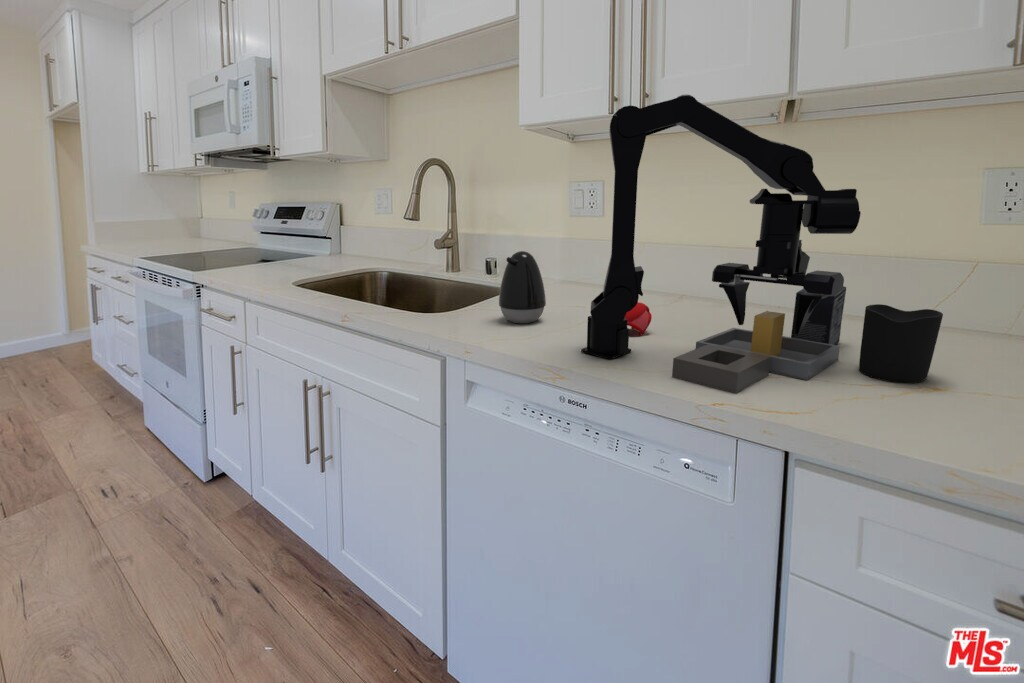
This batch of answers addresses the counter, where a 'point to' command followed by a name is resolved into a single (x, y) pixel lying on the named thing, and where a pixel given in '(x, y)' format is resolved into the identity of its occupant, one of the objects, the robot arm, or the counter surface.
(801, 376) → the parts tray
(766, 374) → the gray square frame
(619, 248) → the robot arm
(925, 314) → the pen holder
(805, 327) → the small box
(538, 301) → the pump dispenser
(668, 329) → the counter surface
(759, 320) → the block
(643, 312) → the cap
